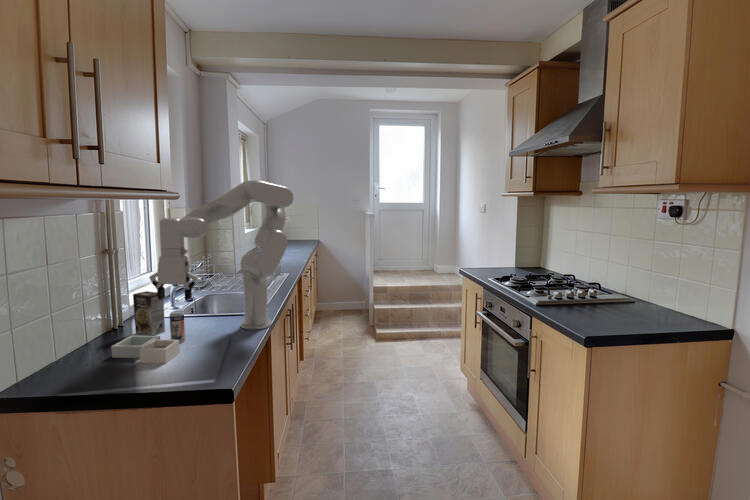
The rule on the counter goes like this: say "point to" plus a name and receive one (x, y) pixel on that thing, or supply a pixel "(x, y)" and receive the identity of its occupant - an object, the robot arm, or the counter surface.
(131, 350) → the grey tub
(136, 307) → the coffee box
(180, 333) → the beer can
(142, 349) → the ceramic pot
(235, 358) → the counter surface
